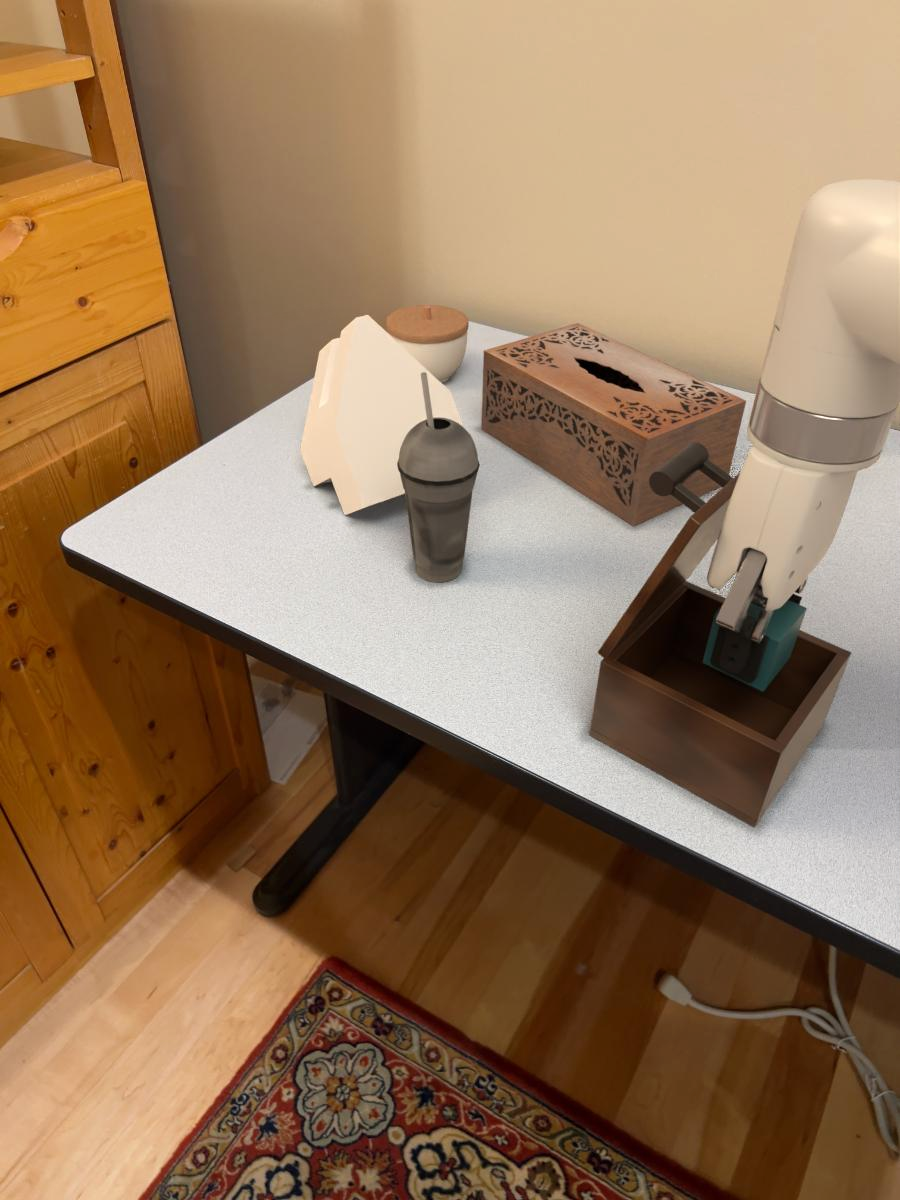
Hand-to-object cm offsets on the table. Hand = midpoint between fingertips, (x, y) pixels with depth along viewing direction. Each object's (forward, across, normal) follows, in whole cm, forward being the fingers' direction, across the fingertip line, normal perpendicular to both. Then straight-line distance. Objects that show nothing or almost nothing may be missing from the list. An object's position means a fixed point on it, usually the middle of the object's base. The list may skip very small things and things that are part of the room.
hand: (749, 650), depth 62 cm
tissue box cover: (+10, -31, -31) cm, 45 cm away
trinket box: (+10, -35, -60) cm, 70 cm away
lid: (-6, 0, -5) cm, 8 cm away
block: (+1, 0, 0) cm, 1 cm away
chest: (+9, 0, -1) cm, 9 cm away
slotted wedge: (+10, -12, -48) cm, 50 cm away
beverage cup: (+10, -3, -31) cm, 33 cm away
